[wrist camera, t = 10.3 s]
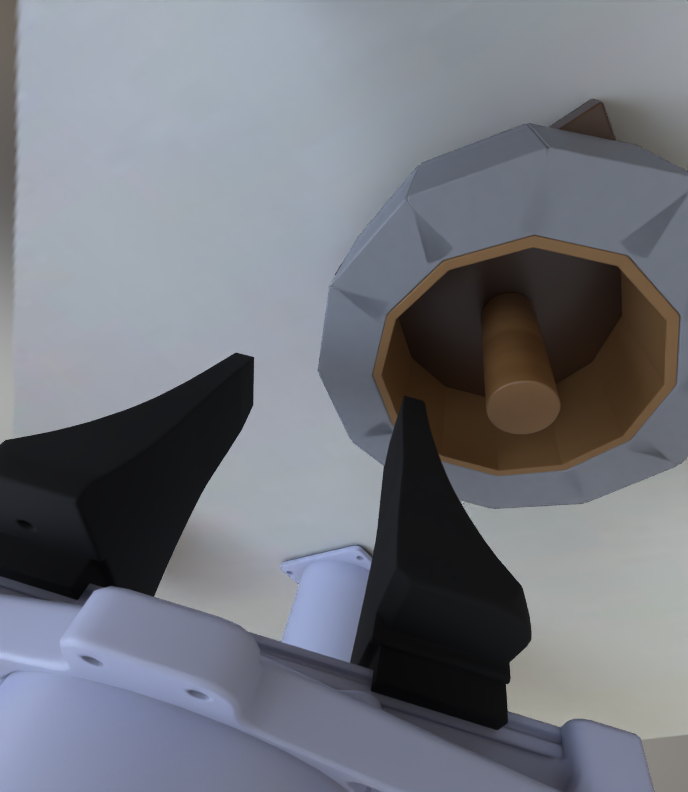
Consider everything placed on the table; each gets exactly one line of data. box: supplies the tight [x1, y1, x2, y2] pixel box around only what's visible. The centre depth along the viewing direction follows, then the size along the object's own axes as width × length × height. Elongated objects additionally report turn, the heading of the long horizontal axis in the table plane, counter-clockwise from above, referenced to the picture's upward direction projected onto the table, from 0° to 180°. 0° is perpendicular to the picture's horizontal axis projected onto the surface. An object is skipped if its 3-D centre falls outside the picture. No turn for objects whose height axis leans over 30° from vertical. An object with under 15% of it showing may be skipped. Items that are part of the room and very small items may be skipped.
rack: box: [335, 99, 622, 434], centre depth 15 cm, size 10×10×7 cm
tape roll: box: [318, 123, 688, 509], centre depth 15 cm, size 13×13×4 cm
